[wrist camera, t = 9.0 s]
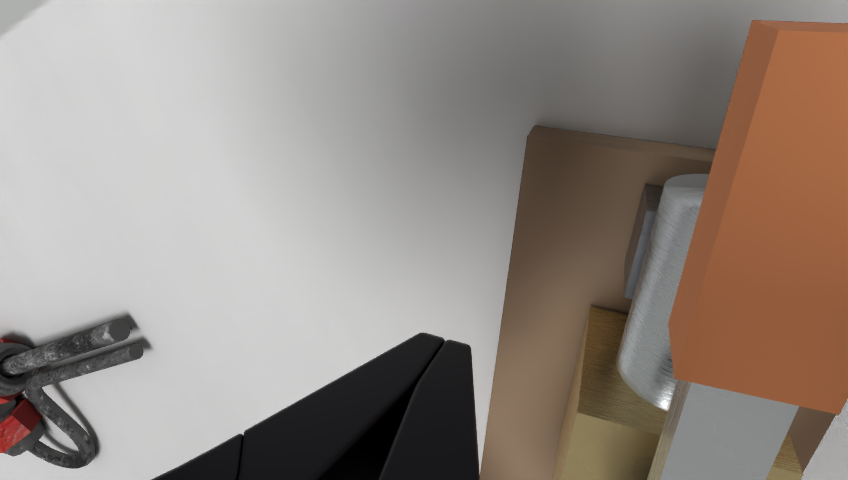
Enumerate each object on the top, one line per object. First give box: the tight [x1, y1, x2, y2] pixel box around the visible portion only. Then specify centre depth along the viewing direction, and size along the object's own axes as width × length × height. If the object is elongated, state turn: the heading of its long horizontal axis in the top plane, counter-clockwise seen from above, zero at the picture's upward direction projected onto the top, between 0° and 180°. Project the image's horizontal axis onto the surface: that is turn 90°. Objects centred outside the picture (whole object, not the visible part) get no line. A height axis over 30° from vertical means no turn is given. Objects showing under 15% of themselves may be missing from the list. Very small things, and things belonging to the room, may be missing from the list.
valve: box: [0, 320, 144, 468], centre depth 38 cm, size 6×26×15 cm
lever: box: [647, 20, 848, 480], centre depth 11 cm, size 15×3×2 cm, turn 178°
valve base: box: [480, 126, 836, 480], centre depth 18 cm, size 12×19×9 cm, turn 176°
